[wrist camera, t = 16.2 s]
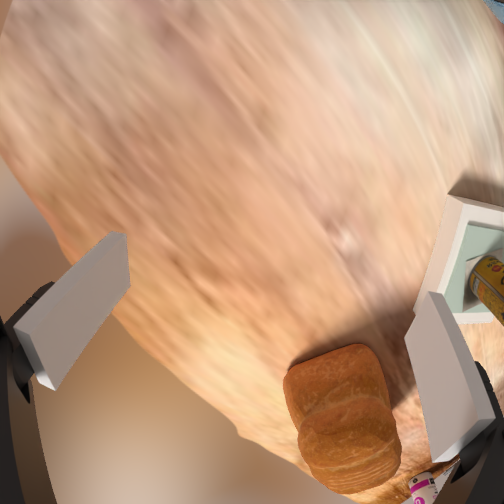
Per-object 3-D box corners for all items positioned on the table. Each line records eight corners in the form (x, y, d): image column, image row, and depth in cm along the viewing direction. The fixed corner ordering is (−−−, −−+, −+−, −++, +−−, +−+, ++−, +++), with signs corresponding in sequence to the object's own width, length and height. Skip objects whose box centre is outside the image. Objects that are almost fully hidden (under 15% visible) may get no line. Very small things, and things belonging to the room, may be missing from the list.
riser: (447, 194, 36) (466, 204, 32) (514, 210, 37) (532, 220, 32) (412, 310, 44) (424, 328, 39) (479, 309, 44) (493, 324, 40)
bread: (318, 440, 58) (329, 510, 42) (273, 366, 48) (280, 461, 32) (389, 416, 55) (412, 484, 40) (370, 331, 45) (408, 420, 30)
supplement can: (403, 484, 75) (413, 520, 61) (416, 473, 71) (428, 510, 58) (422, 480, 75) (433, 514, 62) (435, 469, 72) (447, 504, 58)
